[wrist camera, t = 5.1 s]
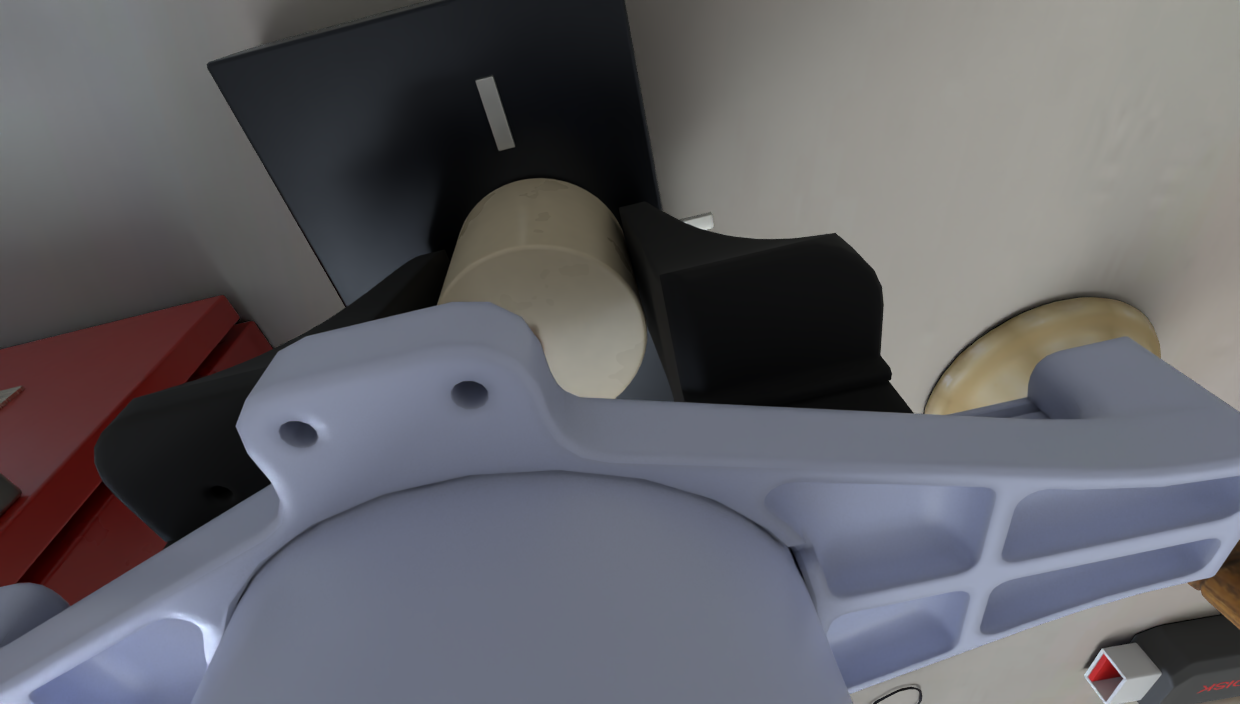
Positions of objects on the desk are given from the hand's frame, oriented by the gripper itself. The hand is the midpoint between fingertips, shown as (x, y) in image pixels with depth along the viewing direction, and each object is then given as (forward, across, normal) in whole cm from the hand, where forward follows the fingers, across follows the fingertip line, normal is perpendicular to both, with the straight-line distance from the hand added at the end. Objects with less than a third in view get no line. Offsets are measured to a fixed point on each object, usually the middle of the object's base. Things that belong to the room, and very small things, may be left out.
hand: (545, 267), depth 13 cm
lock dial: (0, 0, 0) cm, 0 cm away
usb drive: (+3, -30, +35) cm, 46 cm away
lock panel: (+3, +1, 0) cm, 3 cm away
